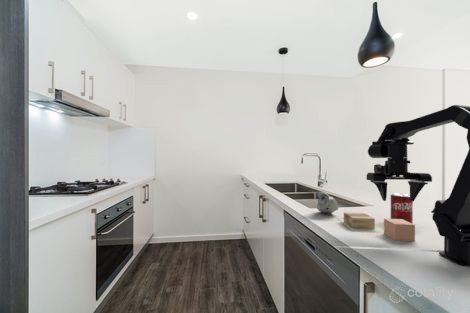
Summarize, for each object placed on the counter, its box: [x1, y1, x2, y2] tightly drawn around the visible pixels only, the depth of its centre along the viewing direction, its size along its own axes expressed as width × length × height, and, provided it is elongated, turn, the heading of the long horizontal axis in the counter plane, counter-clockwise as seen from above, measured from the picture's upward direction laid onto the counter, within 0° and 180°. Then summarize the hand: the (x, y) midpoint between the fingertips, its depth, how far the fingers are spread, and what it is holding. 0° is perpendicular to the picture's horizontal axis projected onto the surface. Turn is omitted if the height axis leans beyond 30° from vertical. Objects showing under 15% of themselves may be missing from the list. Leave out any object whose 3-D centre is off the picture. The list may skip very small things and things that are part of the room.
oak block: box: [343, 211, 376, 229], centre depth 83 cm, size 8×8×4 cm
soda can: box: [389, 193, 414, 224], centre depth 87 cm, size 7×7×12 cm
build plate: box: [336, 217, 384, 233], centre depth 84 cm, size 16×12×1 cm
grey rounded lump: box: [316, 190, 339, 215], centre depth 98 cm, size 10×10×12 cm
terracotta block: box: [383, 218, 416, 242], centre depth 71 cm, size 6×6×6 cm
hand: (398, 200), depth 74 cm, fingers open, 9 cm apart
